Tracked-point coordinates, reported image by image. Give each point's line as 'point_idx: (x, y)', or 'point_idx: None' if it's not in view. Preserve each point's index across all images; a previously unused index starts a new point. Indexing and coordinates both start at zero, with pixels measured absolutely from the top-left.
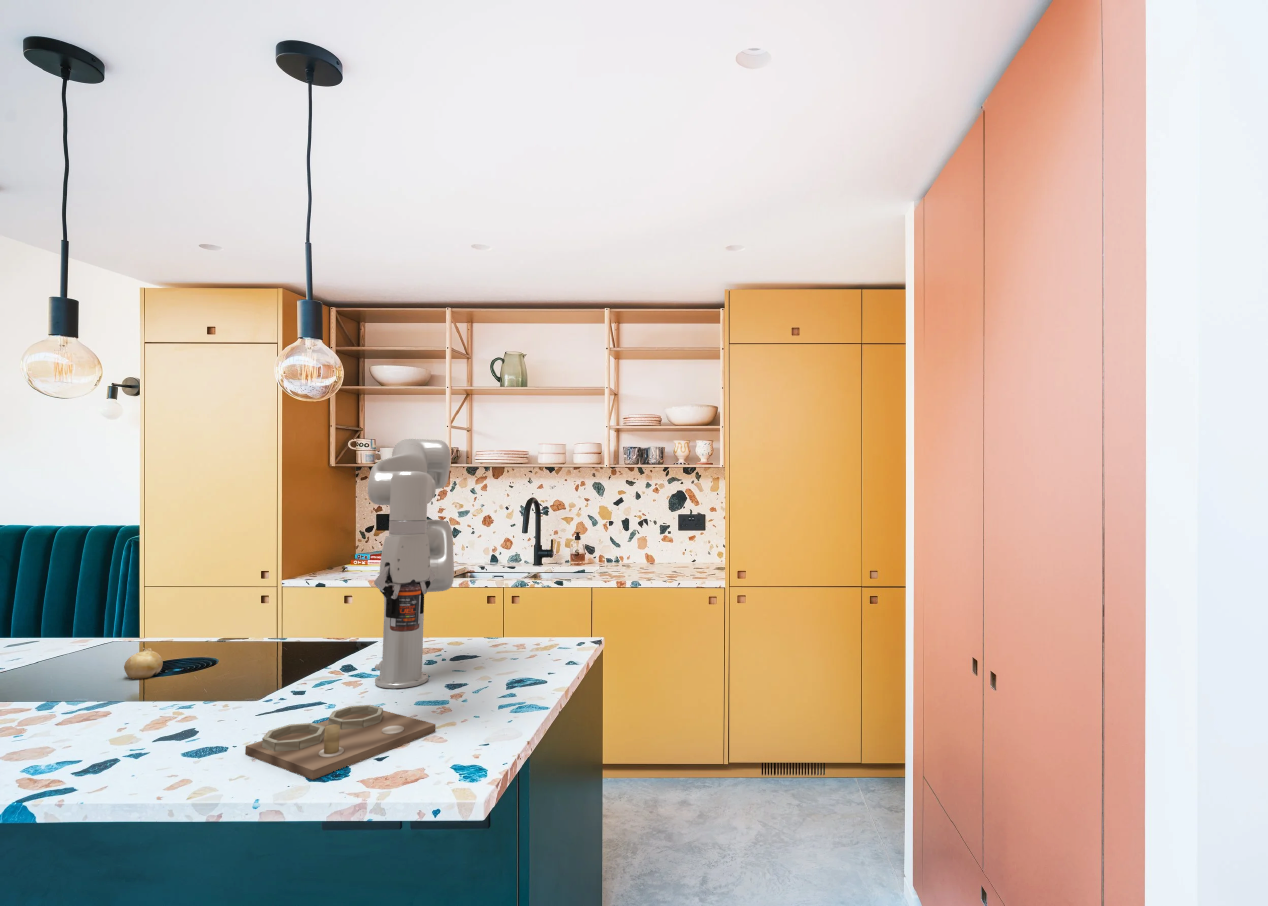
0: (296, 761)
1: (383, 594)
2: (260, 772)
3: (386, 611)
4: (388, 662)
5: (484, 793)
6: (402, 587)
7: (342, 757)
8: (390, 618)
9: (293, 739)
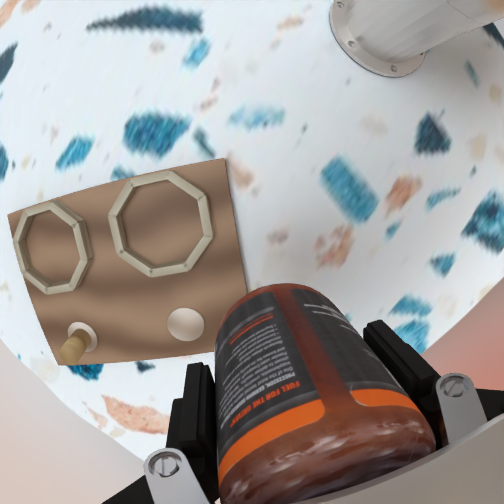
0: (45, 327)
1: (133, 486)
2: (20, 292)
3: (174, 406)
4: (364, 10)
5: None
6: None
7: (91, 359)
8: (216, 356)
9: (54, 239)
